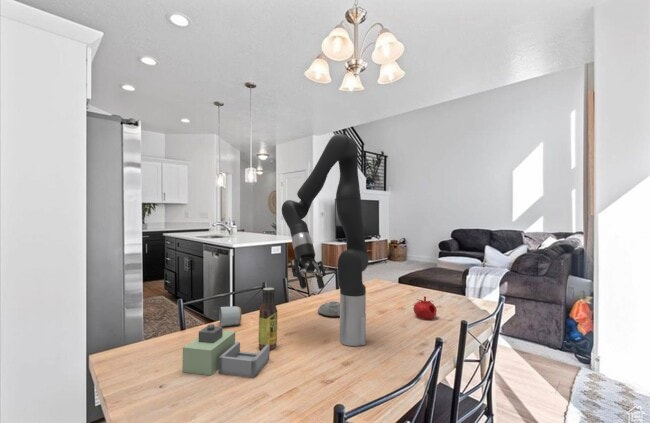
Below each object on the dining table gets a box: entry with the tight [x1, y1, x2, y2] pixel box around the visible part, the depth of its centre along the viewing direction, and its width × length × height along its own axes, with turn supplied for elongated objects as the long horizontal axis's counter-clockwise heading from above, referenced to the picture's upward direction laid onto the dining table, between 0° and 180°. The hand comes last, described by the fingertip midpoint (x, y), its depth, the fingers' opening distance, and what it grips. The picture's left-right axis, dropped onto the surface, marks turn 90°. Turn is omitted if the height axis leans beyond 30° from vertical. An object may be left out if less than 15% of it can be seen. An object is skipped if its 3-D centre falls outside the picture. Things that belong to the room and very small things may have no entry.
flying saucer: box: [317, 300, 340, 317], centre depth 141 cm, size 15×15×6 cm
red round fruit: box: [412, 296, 438, 321], centre depth 136 cm, size 10×10×9 cm
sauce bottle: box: [257, 287, 278, 350], centre depth 104 cm, size 7×6×20 cm
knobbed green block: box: [182, 323, 271, 378], centre depth 92 cm, size 22×14×11 cm, turn 79°
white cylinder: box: [218, 305, 242, 327], centre depth 126 cm, size 11×8×8 cm
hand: (313, 288), depth 107 cm, fingers open, 8 cm apart
